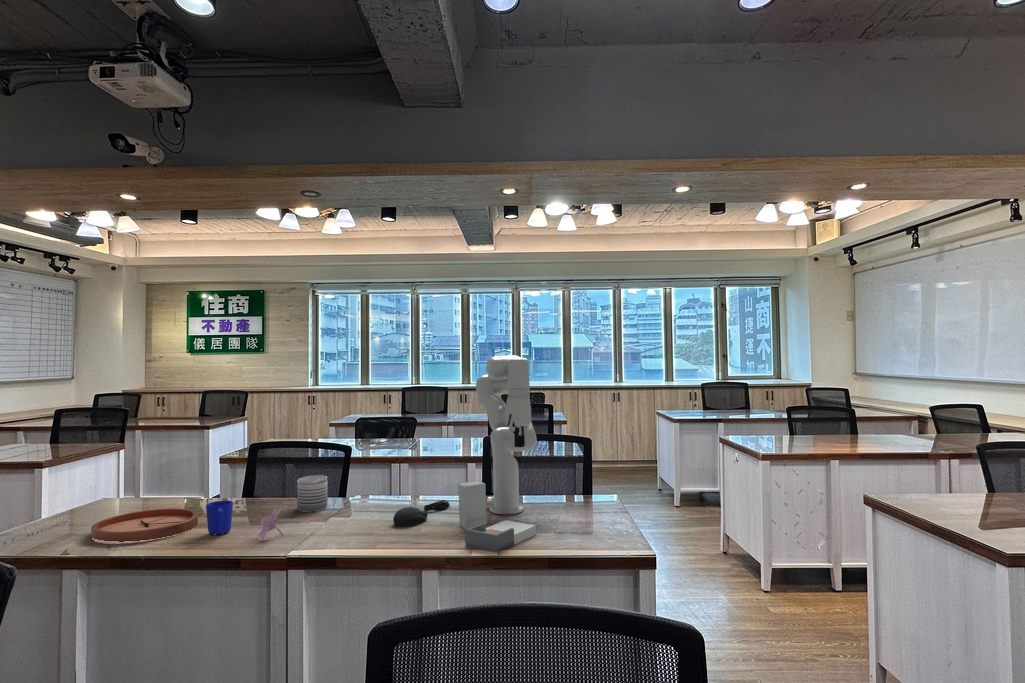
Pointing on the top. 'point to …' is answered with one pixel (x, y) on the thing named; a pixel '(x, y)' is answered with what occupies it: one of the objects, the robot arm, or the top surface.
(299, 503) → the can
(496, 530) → the tile
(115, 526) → the clock
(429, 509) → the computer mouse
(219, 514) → the mug
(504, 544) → the bin
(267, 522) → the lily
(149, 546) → the top surface
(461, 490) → the skincare box
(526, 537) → the plate
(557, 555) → the top surface
